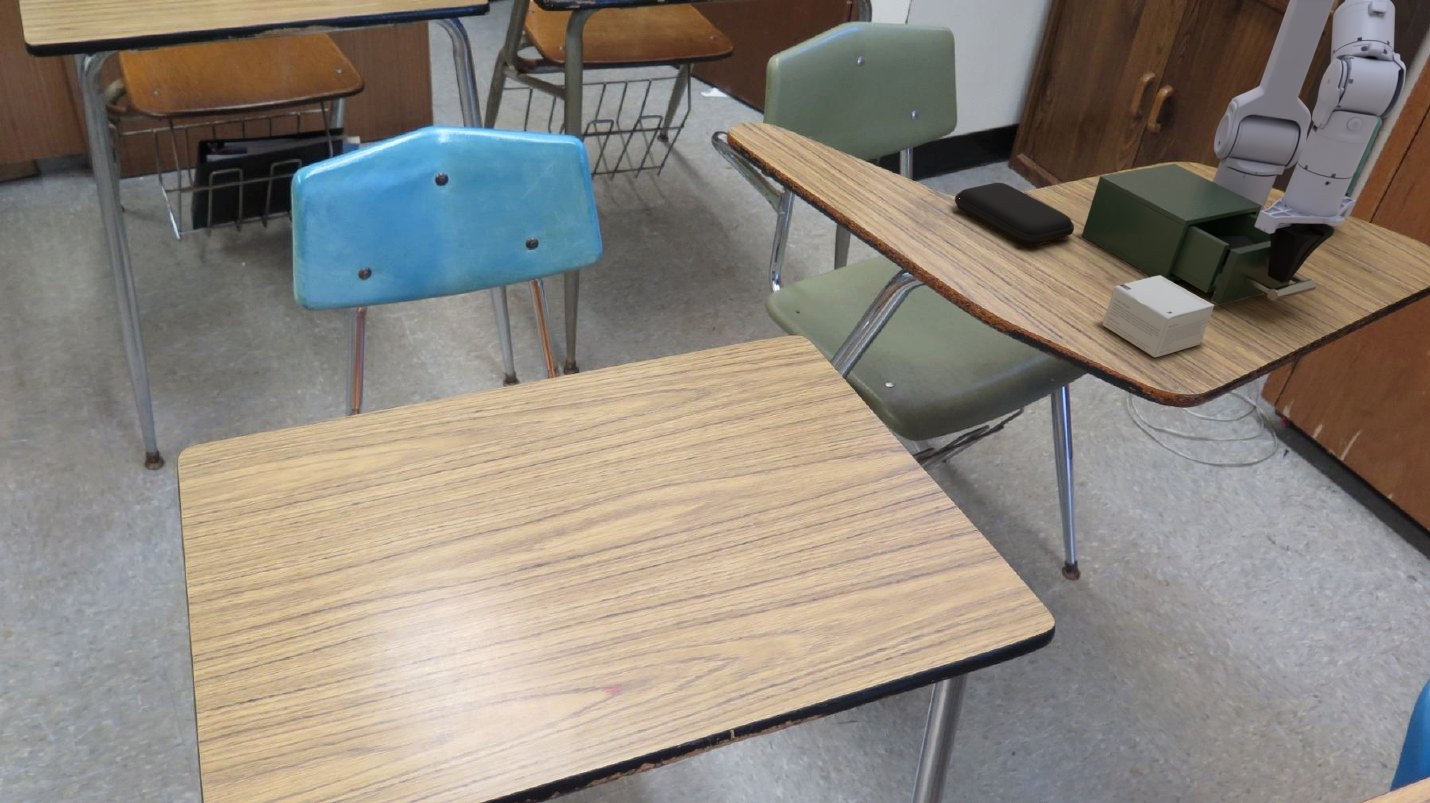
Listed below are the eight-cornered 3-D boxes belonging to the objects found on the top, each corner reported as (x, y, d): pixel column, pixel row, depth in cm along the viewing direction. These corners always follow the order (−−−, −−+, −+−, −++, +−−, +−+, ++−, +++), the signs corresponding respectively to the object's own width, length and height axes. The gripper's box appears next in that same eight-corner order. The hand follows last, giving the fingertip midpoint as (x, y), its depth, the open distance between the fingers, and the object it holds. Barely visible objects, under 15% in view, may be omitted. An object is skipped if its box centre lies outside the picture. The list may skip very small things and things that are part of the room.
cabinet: (1238, 266, 138) (1262, 205, 133) (1163, 283, 132) (1186, 220, 127) (1154, 221, 148) (1174, 163, 143) (1081, 236, 141) (1099, 175, 137)
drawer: (1321, 305, 129) (1344, 255, 125) (1252, 324, 123) (1274, 272, 119) (1203, 242, 141) (1221, 195, 137) (1135, 257, 135) (1152, 208, 131)
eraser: (1235, 259, 135) (1245, 235, 133) (1252, 272, 132) (1262, 249, 130) (1178, 259, 133) (1187, 235, 132) (1194, 273, 130) (1203, 249, 129)
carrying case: (1083, 239, 141) (1001, 195, 150) (1089, 217, 139) (1006, 175, 149) (1026, 254, 135) (945, 207, 145) (1032, 231, 134) (950, 186, 143)
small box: (1201, 345, 119) (1217, 305, 117) (1153, 359, 116) (1168, 318, 113) (1146, 312, 125) (1161, 273, 122) (1099, 325, 121) (1112, 285, 118)
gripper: (1316, 191, 112) (1267, 305, 120) (1398, 174, 119) (1346, 283, 126) (1259, 165, 117) (1215, 276, 125) (1340, 151, 124) (1294, 257, 131)
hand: (1278, 278), depth 126 cm, fingers closed, pressing on drawer
